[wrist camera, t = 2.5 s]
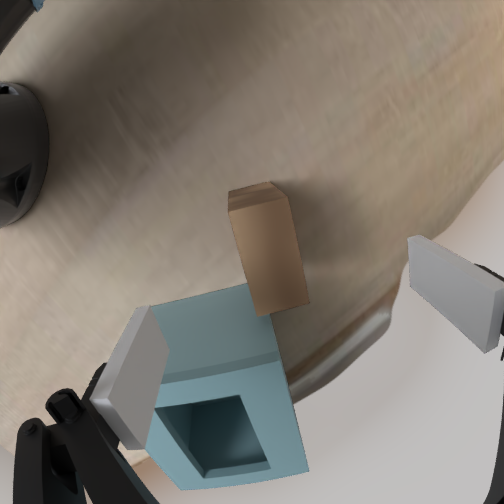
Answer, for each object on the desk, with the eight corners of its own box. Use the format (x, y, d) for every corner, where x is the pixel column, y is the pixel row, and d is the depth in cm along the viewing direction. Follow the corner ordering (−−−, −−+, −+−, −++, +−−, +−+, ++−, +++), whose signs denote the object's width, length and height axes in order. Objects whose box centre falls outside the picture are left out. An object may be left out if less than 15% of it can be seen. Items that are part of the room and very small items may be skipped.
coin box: (189, 406, 34) (180, 490, 22) (141, 308, 29) (102, 391, 18) (288, 387, 34) (309, 471, 22) (260, 279, 29) (280, 360, 18)
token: (248, 266, 29) (257, 316, 20) (228, 191, 26) (227, 212, 18) (286, 257, 29) (309, 303, 20) (268, 181, 26) (287, 197, 18)
